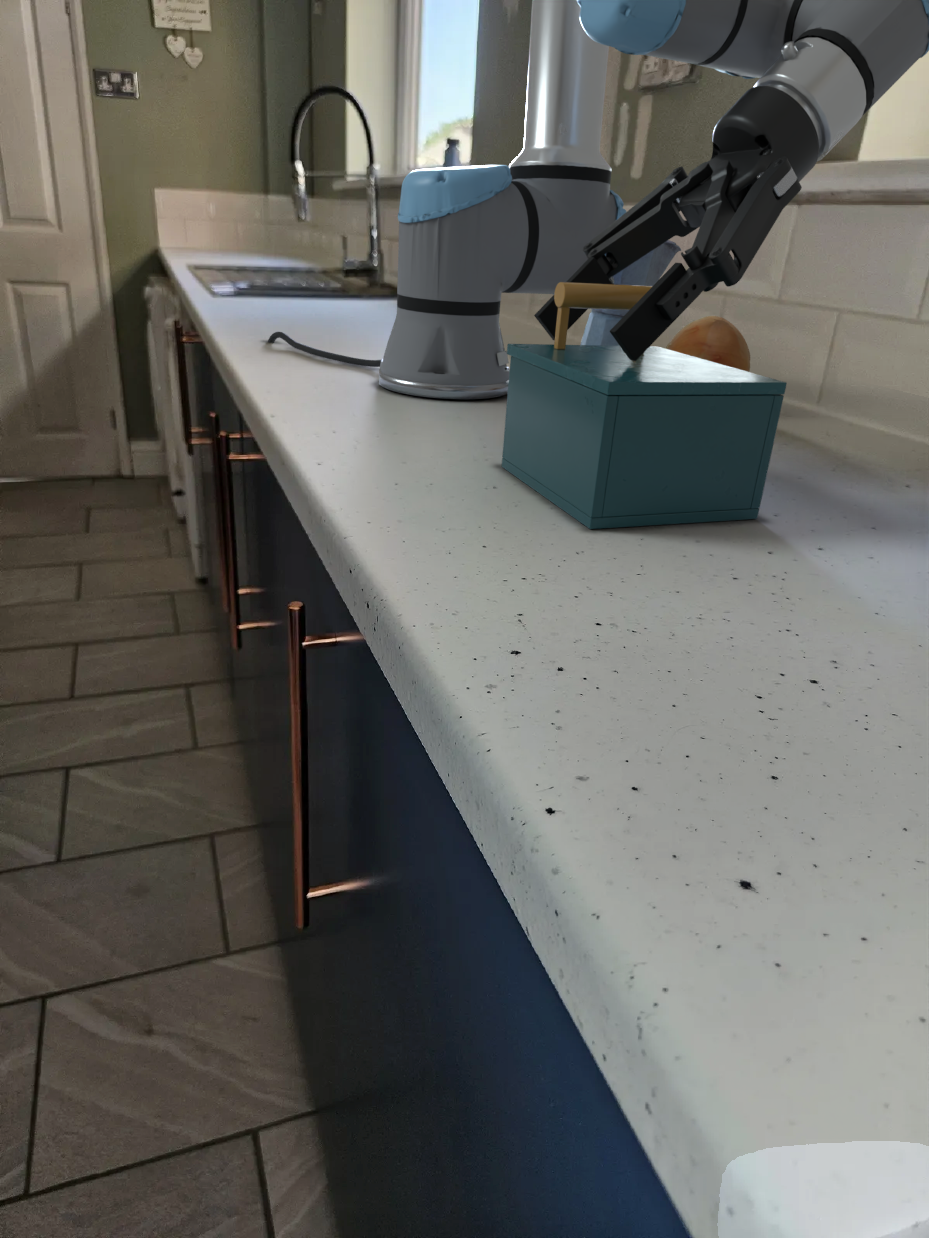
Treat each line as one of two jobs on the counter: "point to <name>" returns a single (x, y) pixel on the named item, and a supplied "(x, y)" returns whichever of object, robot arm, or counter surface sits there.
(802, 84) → the robot arm
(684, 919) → the counter surface
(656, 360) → the box lid
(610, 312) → the moka pot
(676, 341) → the onion
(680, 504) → the storage box
